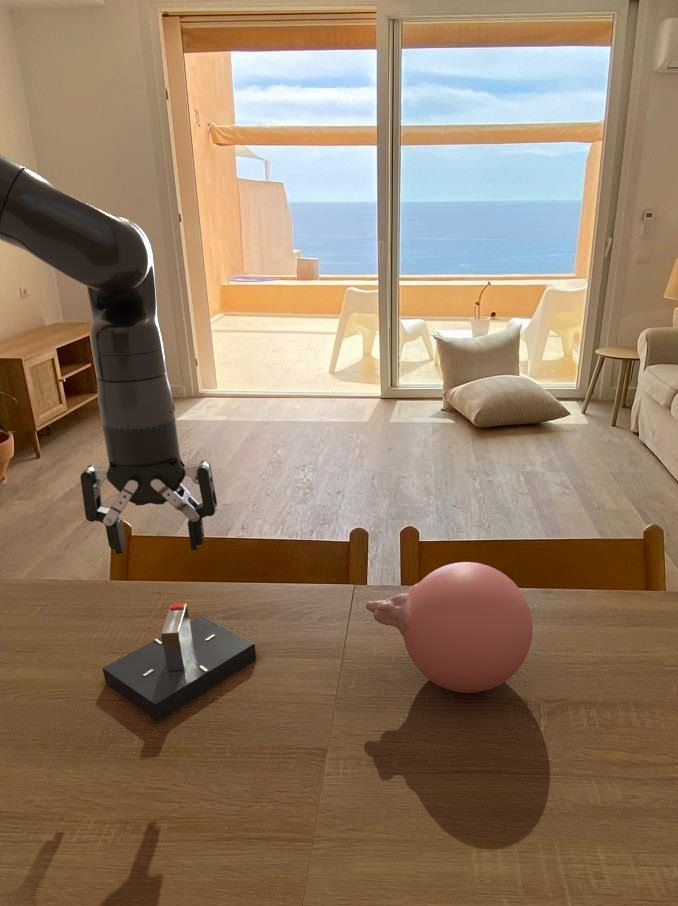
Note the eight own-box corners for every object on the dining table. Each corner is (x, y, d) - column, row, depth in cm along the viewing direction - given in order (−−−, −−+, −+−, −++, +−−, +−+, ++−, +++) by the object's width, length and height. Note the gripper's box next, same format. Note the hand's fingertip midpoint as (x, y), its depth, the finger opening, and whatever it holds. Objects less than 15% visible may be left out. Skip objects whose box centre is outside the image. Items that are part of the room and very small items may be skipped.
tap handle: (184, 670, 84) (177, 630, 82) (167, 671, 84) (160, 631, 82) (192, 639, 90) (186, 601, 88) (176, 640, 90) (170, 602, 88)
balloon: (382, 632, 96) (381, 532, 89) (530, 650, 91) (539, 546, 85) (352, 704, 82) (347, 592, 76) (524, 730, 78) (534, 613, 71)
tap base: (158, 721, 80) (154, 703, 79) (105, 684, 86) (101, 666, 85) (256, 659, 90) (254, 642, 89) (203, 630, 97) (201, 614, 96)
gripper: (58, 428, 71) (87, 567, 78) (201, 423, 72) (217, 560, 79) (79, 408, 78) (104, 538, 84) (209, 404, 79) (223, 531, 86)
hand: (158, 548), depth 82 cm, fingers open, 8 cm apart
